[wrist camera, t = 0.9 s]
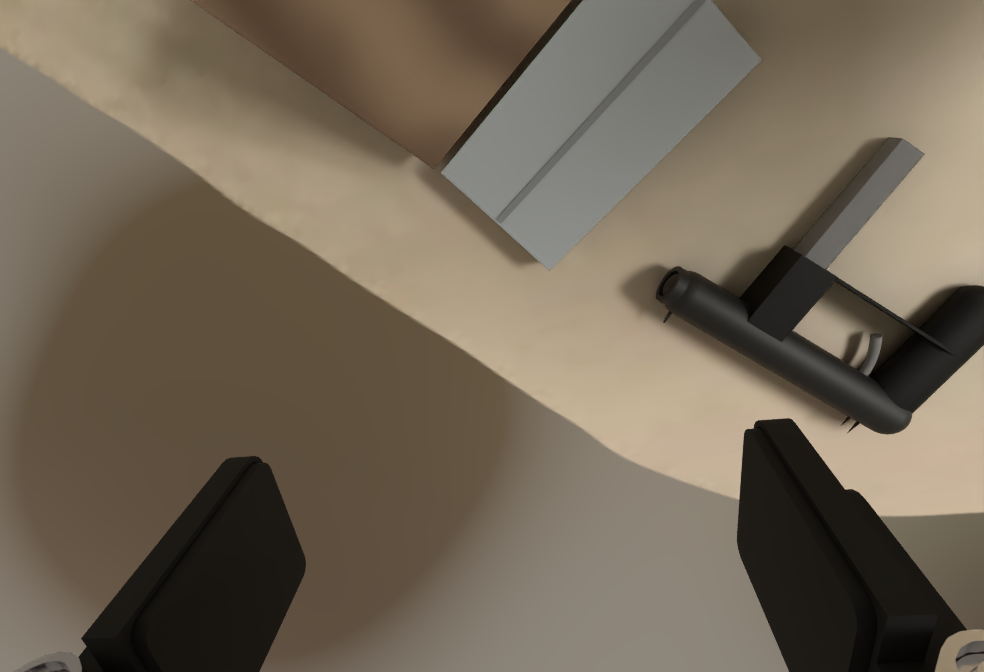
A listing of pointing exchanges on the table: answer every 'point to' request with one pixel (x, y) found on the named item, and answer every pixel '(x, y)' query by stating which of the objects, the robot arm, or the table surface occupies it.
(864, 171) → the door handle
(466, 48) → the plank
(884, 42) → the table surface
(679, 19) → the laid boards
